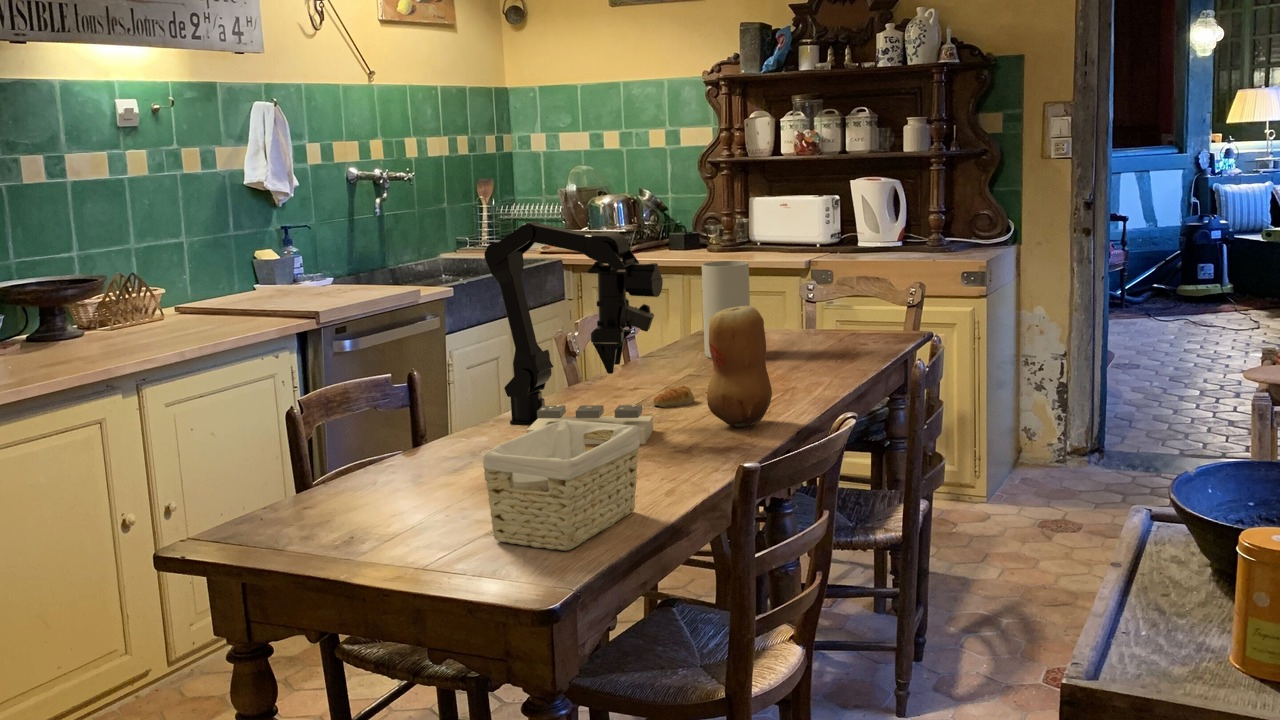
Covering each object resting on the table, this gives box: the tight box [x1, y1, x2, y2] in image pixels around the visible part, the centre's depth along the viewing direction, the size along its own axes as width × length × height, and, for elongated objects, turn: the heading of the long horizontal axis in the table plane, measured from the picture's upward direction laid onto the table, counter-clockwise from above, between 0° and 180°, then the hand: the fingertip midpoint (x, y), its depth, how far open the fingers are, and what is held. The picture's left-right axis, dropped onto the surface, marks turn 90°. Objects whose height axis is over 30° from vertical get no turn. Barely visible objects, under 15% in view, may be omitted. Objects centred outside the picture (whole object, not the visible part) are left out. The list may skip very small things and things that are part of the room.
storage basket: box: [482, 420, 641, 551], centre depth 192 cm, size 24×16×15 cm
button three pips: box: [537, 404, 567, 418], centre depth 249 cm, size 5×5×2 cm
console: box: [526, 415, 654, 445], centre depth 249 cm, size 24×11×3 cm, turn 80°
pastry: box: [652, 385, 695, 409], centre depth 275 cm, size 9×7×4 cm
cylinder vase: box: [701, 260, 751, 360], centre depth 326 cm, size 12×12×25 cm
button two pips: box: [614, 404, 643, 418], centre depth 247 cm, size 5×5×2 cm
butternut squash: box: [706, 305, 773, 428], centre depth 250 cm, size 14×13×25 cm
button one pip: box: [575, 404, 605, 418], centre depth 248 cm, size 5×5×2 cm
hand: (613, 368), depth 255 cm, fingers open, 9 cm apart
